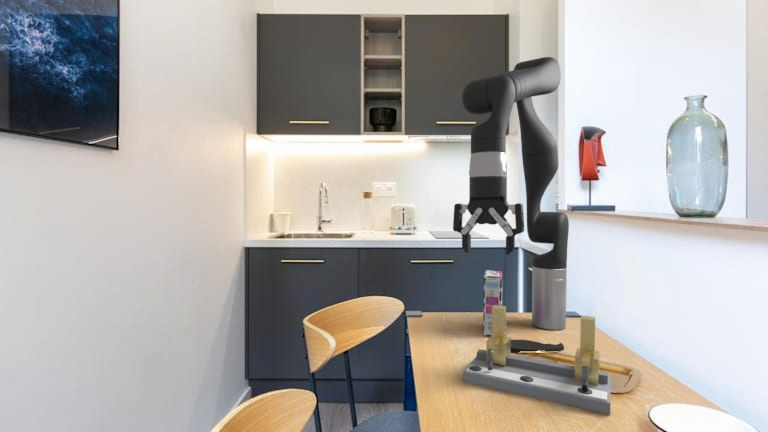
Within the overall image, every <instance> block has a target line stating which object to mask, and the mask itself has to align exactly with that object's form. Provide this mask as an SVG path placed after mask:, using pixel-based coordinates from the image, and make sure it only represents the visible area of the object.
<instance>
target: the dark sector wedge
mask: <svg viewBox="0 0 768 432" xmlns="http://www.w3.org/2000/svg"><path fill="white" fill-rule="evenodd" d="M538 350H541V351H542V350H545V351H559V352H562V351H564V350H565V346H564V344H563V342H560V343H558V344H553V343H544V342H543V343H542V342H538V341H533V340H529V339H511V354H512V353H513V354H519V353H518V352H520V351H538ZM561 350H562V351H561Z"/></svg>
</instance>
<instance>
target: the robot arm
mask: <svg viewBox="0 0 768 432" xmlns="http://www.w3.org/2000/svg"><path fill="white" fill-rule="evenodd" d="M560 83H561V67H560V63H559V62H558V60H557V59H556V58H554V57H552V56H544V57H540V58H534V59H530V60H526V61H520V62H517V63H516V64H515V66H514V68H513V70H508V71H506V72H503V73H502V72H501V73H500V74H497V75H493V76H489V77H484V78H480V79H474V80H471V81H470V82H469V83H467V84H466V85H465V87H464V88H463V91H462V94H461V103H462V106H463V107H464V110H466V111H467V112H468V113H469V114H471V115H485V114H490V116H489V118H488V119H487V120H486V121H484V122H483V123H482V122H481V123H480V124H476V125H475V126H474V127H472V129H471V132H470V158H469V159H470V160H469V170H468V175H469V190H468V191H469V195H468V196H469V199H468V200H469V201H468V204H464V203H459V202H458V203H455V204H454V206H453V220H452V221H453V223H452V230H453V231H454V232H457V233H460V234H461V248H462V250H463V251H464V253H470V252H471V250H472V245H471V244H472V241H471V239H472V235H471V234H470V233H471V232H472V230H473V228H475V226H476V225H477V224H479V225H485V224H487V225H497V224H498V225H499V227H500V228H501V229H503V231H504V232H505V234H506V236H505V255H507V256H508V255H509V256H510V255H512V253H513V252H514V251H515V250H516V249H515V245H516V244H515V243H516V242H515V238H516V235H519V234H522V233H524V231H525V220H524V217H525V215H524V205H523V203H521V202H520V203H516V204H509V203H508V200H507V197H508V194H507V193H508V192H507V191H508V187H507V186H508V183H507V182H508V173H507V172H508V164H507V154H506V153H507V152H506V150H507V149H506V148H507V147H506V144H507V142H506V141H507V139H506V138H507V129H508V125H509V121H510V117H511V113H512V111H513V107H514V104H515V103H516V108H517V109H516V110H517V114H518V115H517V116H518V123H519V130H520V144H521V157H522V166H523V169H522V170H523V176H524V184H525V196H526V199H525V200H526V231H527V236H528V239H529V240H530V242H532V243H535V244H536V243H537V244H549V245H551V244H552V245H553V246H552V249H550V250H548V251H547V252H545V253H541V254H537V255H535V256H533V258H532V268H531V269H532V270H531V271H532V272H531V276H532V284H531V285H532V286H531V287H532V288H531V293H532V294H531V300H532V301H531V324H532V326H534V327H537V328H540V329H542V330H543V329H545V330H549V331H550V330H553V331H555V330H556V331H557V330H559V331H560V330H563V329H565V328H566V327H567V326H566V325H567V321H566V319H567V268H568V267H567V263H568V262H567V261H568V245H569V244H568V242H569V241H568V240H569V226H570V224H569V218H568V215H567V214H566V213H565V212H563V211H562V212H561V211H541V203H542V198H543V196H544V194H545V192H546V191H547V189H548V186H549V185H550V184H551V182H552V181H553V178H554V177H555V175H556V174H557V171H558V169H559V153H558V151H559V150H558V143H557V140H556V139H555V137H554V135H553V134H552V133H551V131H550V130H549V129H548V128H547V126H546V125H545V124H544V123H543V121H542V120H541V119H540V117H539V116H538V115H537V112H536V109H535V105H534V102H533V97H537V96H539V97H540V96H543V95H549V94H551V93H554V92H555V91H556V90H557V89H558V88H559V86H560ZM466 211H468V212H469V214H470V218H469V219H468V221H467V222H466V223H465V225H464V226H463V217H464V216H463V215H464V214H465V213H466ZM509 211H511V213H512V215H514V217H515V220H514V221H515V228H513V227H512V226H511V224H510V222H509V221H508V219H507V217H505V216H506V214H507V212H509Z"/></svg>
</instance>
